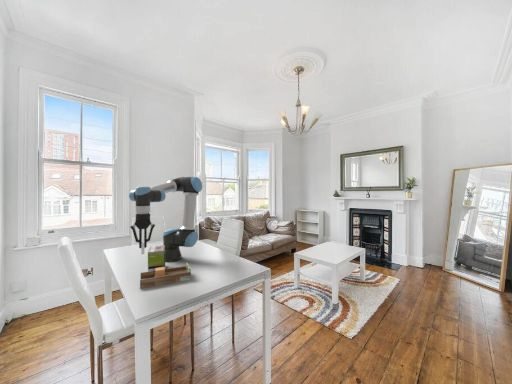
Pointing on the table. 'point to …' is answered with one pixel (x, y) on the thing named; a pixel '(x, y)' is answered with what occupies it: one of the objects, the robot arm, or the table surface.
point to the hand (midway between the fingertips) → (142, 253)
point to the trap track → (170, 276)
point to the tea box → (156, 257)
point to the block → (160, 271)
